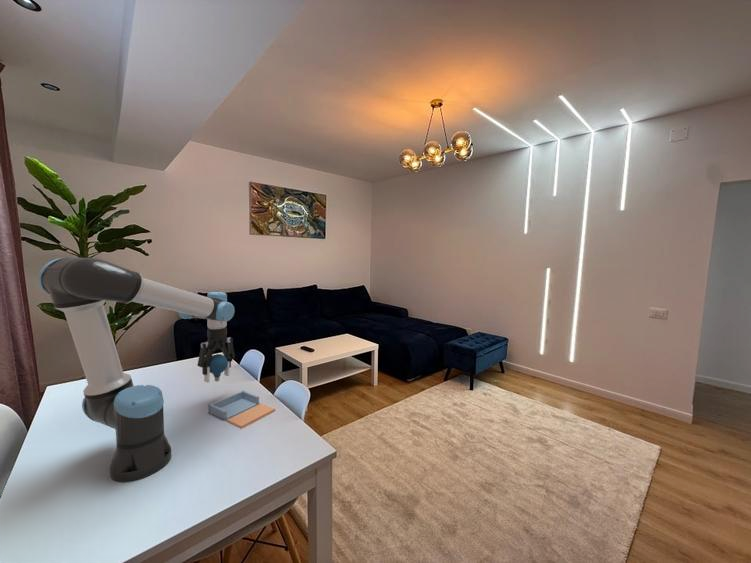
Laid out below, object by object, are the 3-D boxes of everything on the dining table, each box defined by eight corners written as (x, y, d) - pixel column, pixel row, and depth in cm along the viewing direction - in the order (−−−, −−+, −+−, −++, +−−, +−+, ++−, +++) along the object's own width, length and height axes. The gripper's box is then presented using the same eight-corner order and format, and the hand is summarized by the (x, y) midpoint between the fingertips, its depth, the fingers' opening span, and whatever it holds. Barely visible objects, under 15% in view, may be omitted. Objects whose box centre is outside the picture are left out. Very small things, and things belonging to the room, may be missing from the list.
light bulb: (221, 385, 128) (221, 357, 128) (202, 384, 129) (202, 357, 128) (231, 378, 137) (231, 352, 136) (213, 377, 137) (213, 351, 136)
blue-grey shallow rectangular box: (224, 421, 118) (224, 412, 118) (208, 413, 124) (208, 404, 124) (259, 405, 132) (259, 396, 132) (243, 398, 138) (243, 390, 137)
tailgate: (225, 422, 118) (241, 429, 113) (225, 419, 118) (241, 426, 113) (259, 405, 132) (275, 411, 126) (259, 402, 132) (275, 408, 126)
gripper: (197, 332, 120) (197, 388, 122) (244, 324, 139) (243, 373, 140) (187, 330, 124) (187, 384, 126) (234, 322, 142) (234, 370, 144)
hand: (217, 378), depth 133 cm, fingers closed on light bulb, 8 cm apart
